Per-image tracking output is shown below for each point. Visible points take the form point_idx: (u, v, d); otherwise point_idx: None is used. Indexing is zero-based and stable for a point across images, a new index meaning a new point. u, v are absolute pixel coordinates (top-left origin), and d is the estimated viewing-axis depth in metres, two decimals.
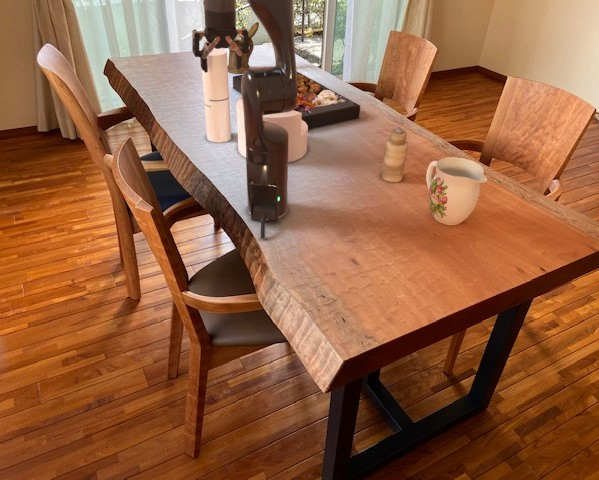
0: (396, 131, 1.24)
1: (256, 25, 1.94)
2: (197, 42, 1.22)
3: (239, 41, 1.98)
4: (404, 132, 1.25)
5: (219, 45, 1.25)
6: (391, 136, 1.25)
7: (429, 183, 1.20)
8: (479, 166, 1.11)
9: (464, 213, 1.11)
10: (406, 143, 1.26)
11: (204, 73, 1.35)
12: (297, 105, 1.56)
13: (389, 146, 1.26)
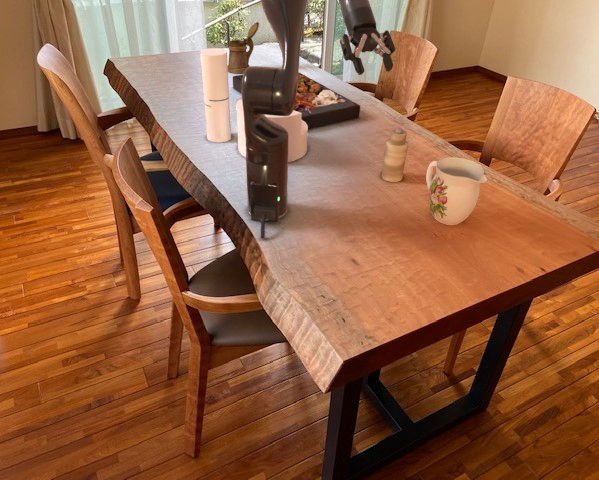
0: (396, 131, 1.24)
1: (256, 25, 1.94)
2: (347, 42, 1.25)
3: (239, 41, 1.98)
4: (404, 132, 1.25)
5: (367, 44, 1.27)
6: (391, 136, 1.25)
7: (429, 183, 1.20)
8: (479, 166, 1.11)
9: (464, 213, 1.11)
10: (406, 143, 1.26)
11: (204, 73, 1.35)
12: (297, 105, 1.56)
13: (389, 146, 1.26)
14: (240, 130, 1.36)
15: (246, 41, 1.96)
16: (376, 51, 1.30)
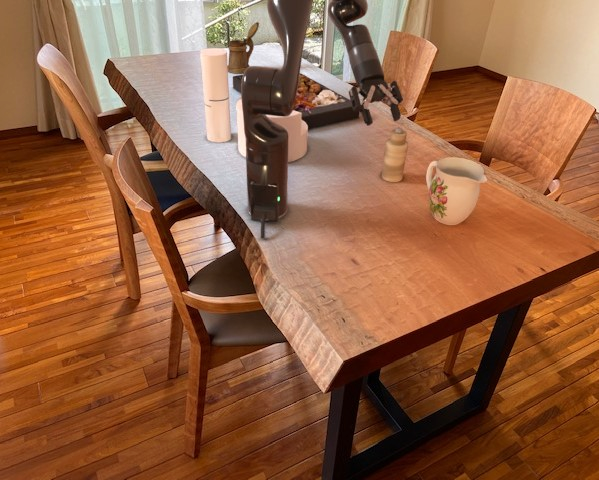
0: (396, 131, 1.24)
1: (256, 25, 1.94)
2: (356, 94, 1.27)
3: (239, 41, 1.98)
4: (404, 132, 1.25)
5: (375, 95, 1.29)
6: (391, 136, 1.25)
7: (429, 183, 1.20)
8: (479, 166, 1.11)
9: (464, 213, 1.11)
10: (406, 143, 1.26)
11: (204, 73, 1.35)
12: (297, 105, 1.56)
13: (389, 146, 1.26)
14: (240, 130, 1.36)
15: (246, 41, 1.96)
16: (384, 101, 1.32)
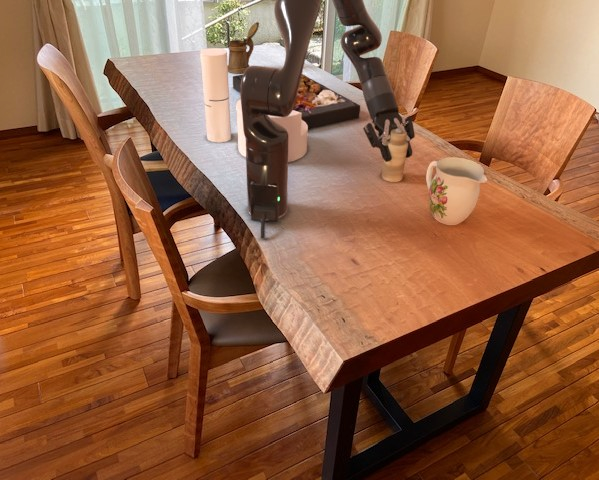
0: (396, 131, 1.24)
1: (256, 25, 1.94)
2: (372, 130, 1.25)
3: (239, 41, 1.98)
4: (404, 132, 1.25)
5: (390, 129, 1.27)
6: (391, 136, 1.25)
7: (429, 183, 1.20)
8: (479, 166, 1.11)
9: (464, 213, 1.11)
10: (406, 143, 1.26)
11: (204, 73, 1.35)
12: (297, 105, 1.56)
13: (389, 146, 1.26)
14: (240, 130, 1.36)
15: (246, 41, 1.96)
16: None
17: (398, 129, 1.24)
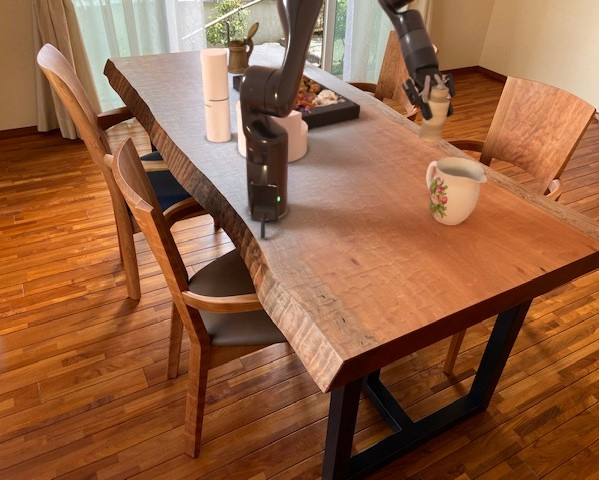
0: (438, 87, 1.17)
1: (256, 25, 1.94)
2: (412, 87, 1.18)
3: (239, 41, 1.98)
4: (446, 88, 1.18)
5: (430, 86, 1.20)
6: (432, 92, 1.18)
7: (429, 183, 1.20)
8: (479, 166, 1.11)
9: (464, 213, 1.11)
10: (447, 100, 1.19)
11: (204, 73, 1.35)
12: (297, 105, 1.56)
13: (430, 103, 1.18)
14: (240, 130, 1.36)
15: (246, 41, 1.96)
16: None
17: (440, 85, 1.17)
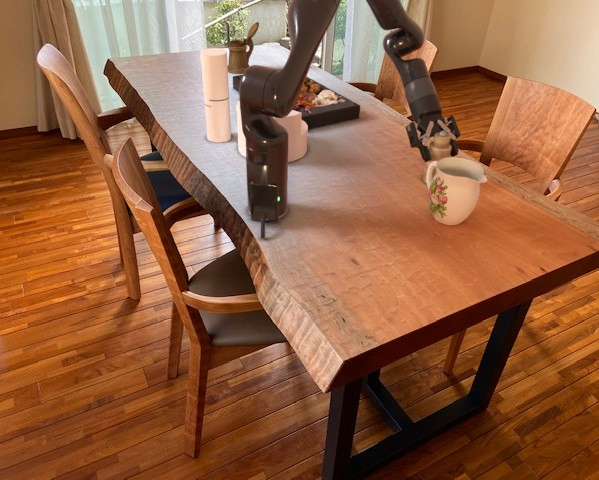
0: (440, 134, 1.24)
1: (256, 25, 1.94)
2: (414, 130, 1.24)
3: (239, 41, 1.98)
4: (448, 135, 1.24)
5: (433, 131, 1.26)
6: (435, 139, 1.24)
7: (429, 183, 1.20)
8: (479, 166, 1.11)
9: (464, 213, 1.11)
10: (450, 146, 1.26)
11: (204, 73, 1.35)
12: (297, 105, 1.56)
13: (433, 149, 1.25)
14: (240, 130, 1.36)
15: (246, 41, 1.96)
16: None
17: (442, 132, 1.23)
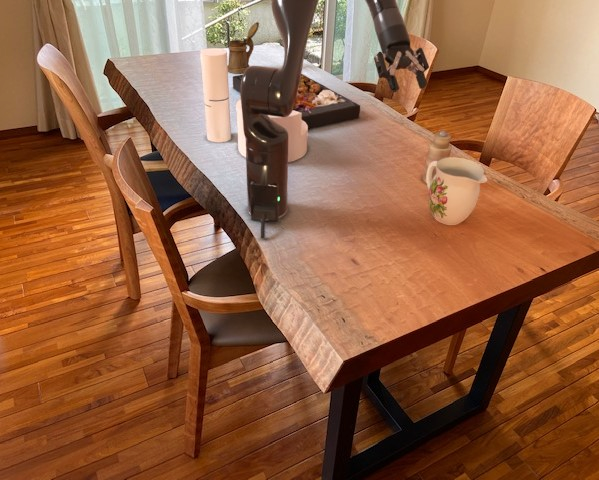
0: (440, 134, 1.24)
1: (256, 25, 1.94)
2: (382, 59, 1.25)
3: (239, 41, 1.98)
4: (448, 135, 1.24)
5: (401, 62, 1.27)
6: (435, 139, 1.24)
7: (429, 183, 1.20)
8: (479, 166, 1.11)
9: (464, 213, 1.11)
10: (450, 146, 1.26)
11: (204, 73, 1.35)
12: (297, 105, 1.56)
13: (433, 149, 1.25)
14: (240, 130, 1.36)
15: (246, 41, 1.96)
16: (409, 68, 1.30)
17: (442, 132, 1.23)
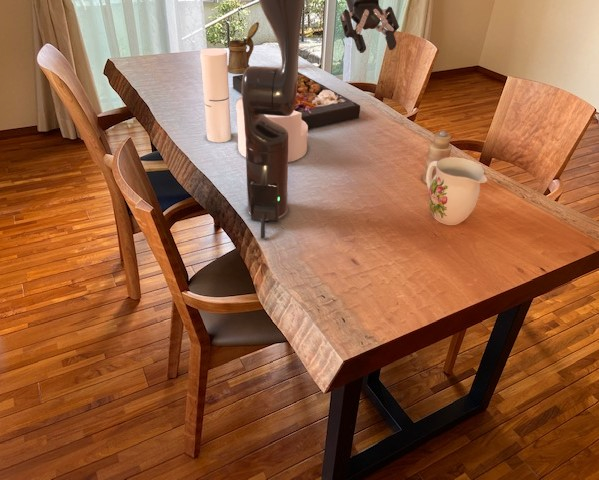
0: (440, 134, 1.24)
1: (256, 25, 1.94)
2: (348, 18, 1.18)
3: (239, 41, 1.98)
4: (448, 135, 1.24)
5: (369, 21, 1.20)
6: (435, 139, 1.24)
7: (429, 183, 1.20)
8: (479, 166, 1.11)
9: (464, 213, 1.11)
10: (450, 146, 1.26)
11: (204, 73, 1.35)
12: (297, 105, 1.56)
13: (433, 149, 1.25)
14: (240, 130, 1.36)
15: (246, 41, 1.96)
16: (378, 28, 1.23)
17: (442, 132, 1.23)
